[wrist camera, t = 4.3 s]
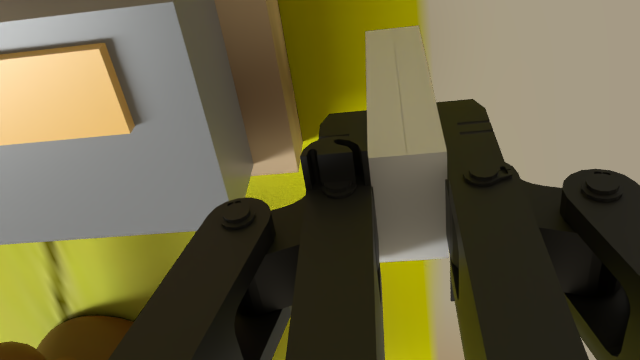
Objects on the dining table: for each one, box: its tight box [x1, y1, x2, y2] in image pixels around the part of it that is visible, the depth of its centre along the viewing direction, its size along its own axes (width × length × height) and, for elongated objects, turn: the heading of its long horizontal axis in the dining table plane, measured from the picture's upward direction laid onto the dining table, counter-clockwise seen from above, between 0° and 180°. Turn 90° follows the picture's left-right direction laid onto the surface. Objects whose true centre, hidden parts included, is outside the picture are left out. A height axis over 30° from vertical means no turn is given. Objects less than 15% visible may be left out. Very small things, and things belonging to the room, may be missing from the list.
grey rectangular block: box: [0, 0, 254, 245], centre depth 18 cm, size 7×8×4 cm
